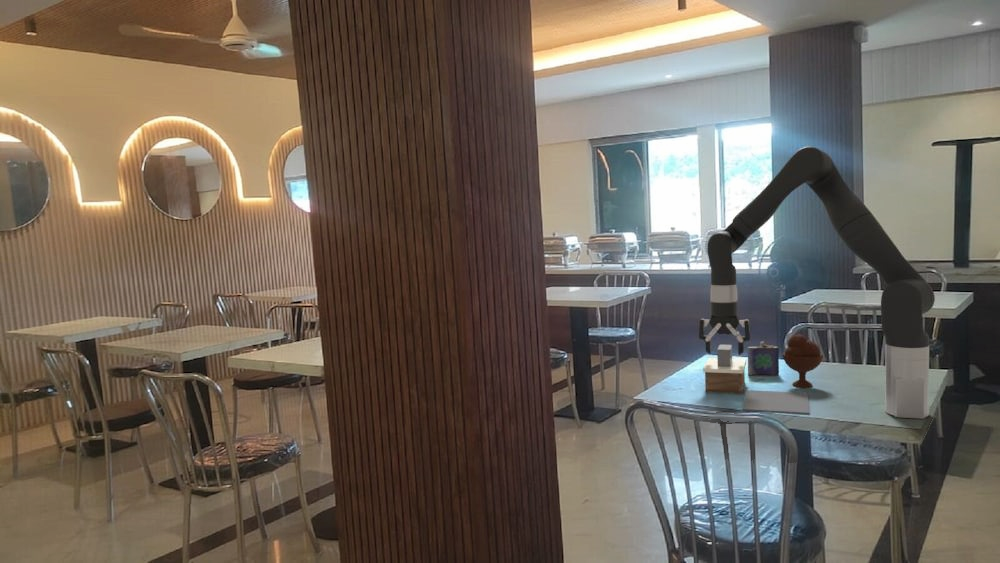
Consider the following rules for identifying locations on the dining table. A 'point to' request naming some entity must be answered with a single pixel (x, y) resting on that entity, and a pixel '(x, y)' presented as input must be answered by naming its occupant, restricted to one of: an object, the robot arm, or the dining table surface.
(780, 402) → the rubber mat
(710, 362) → the lid
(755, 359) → the flask
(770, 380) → the dining table surface
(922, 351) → the robot arm
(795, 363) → the ice cream bowl
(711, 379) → the storage box
